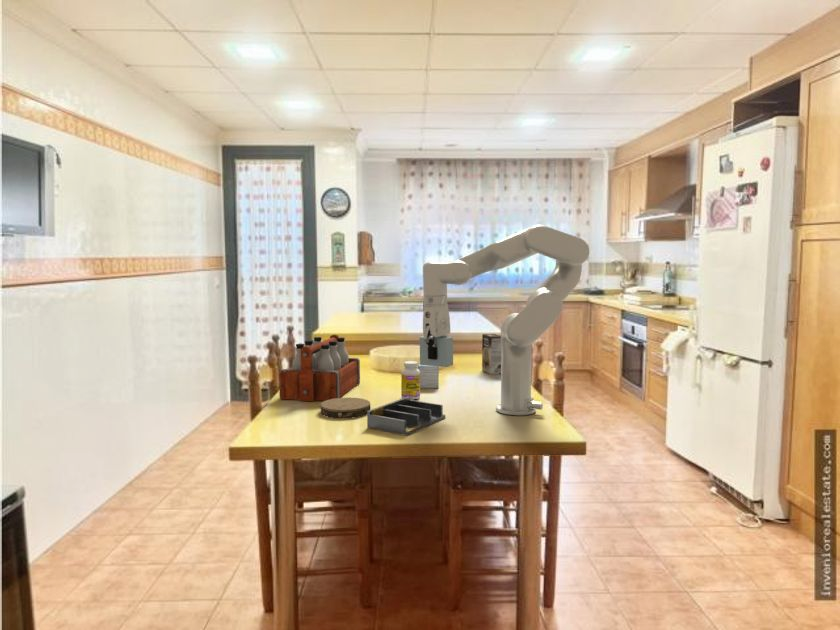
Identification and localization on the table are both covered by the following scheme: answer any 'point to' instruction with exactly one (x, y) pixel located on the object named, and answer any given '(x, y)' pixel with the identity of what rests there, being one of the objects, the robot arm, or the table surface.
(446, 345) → the panel
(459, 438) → the table surface
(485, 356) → the coffee box
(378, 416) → the rack
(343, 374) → the milk bottle holder
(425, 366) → the medicine box
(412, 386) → the supplement bottle
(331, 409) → the round wood slice
